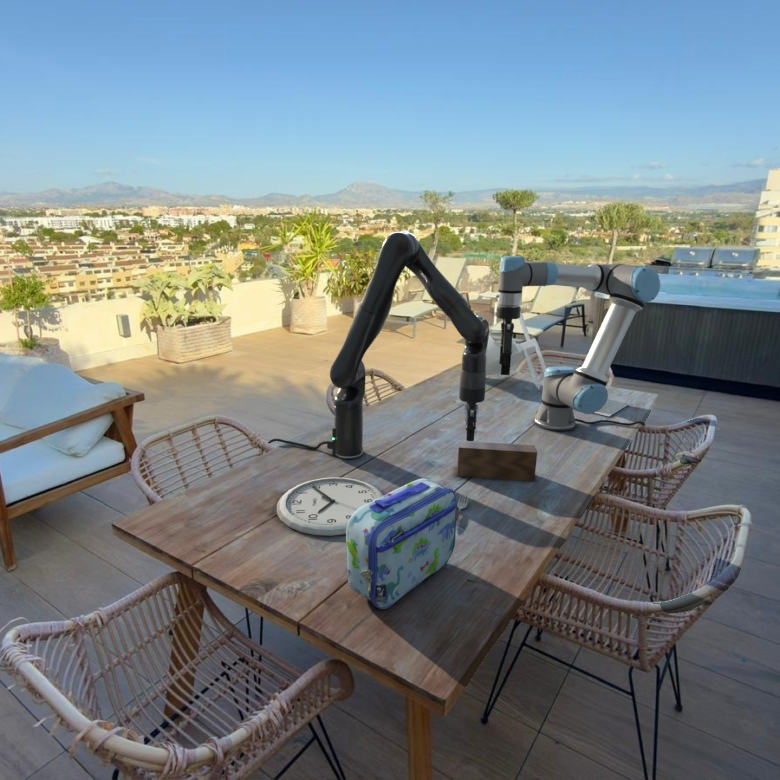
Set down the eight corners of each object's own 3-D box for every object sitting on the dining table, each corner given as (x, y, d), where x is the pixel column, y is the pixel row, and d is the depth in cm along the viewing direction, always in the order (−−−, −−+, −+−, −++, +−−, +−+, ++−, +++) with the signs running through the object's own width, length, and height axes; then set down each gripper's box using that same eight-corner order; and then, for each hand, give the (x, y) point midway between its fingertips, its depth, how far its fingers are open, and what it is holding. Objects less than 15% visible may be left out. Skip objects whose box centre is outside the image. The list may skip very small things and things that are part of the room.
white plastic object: (486, 418, 266) (465, 396, 241) (467, 346, 288) (447, 318, 263) (557, 395, 254) (543, 368, 229) (531, 321, 276) (517, 290, 251)
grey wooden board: (608, 416, 214) (573, 407, 224) (608, 416, 214) (573, 408, 224) (628, 404, 229) (594, 396, 238) (628, 405, 229) (594, 397, 238)
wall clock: (392, 527, 129) (268, 531, 127) (391, 533, 130) (269, 537, 127) (383, 473, 158) (282, 475, 155) (383, 478, 158) (282, 480, 156)
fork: (445, 528, 132) (446, 521, 132) (459, 499, 147) (460, 493, 146) (455, 530, 132) (456, 523, 131) (468, 501, 146) (469, 494, 145)
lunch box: (375, 622, 100) (376, 527, 94) (339, 595, 108) (338, 505, 101) (459, 565, 118) (465, 481, 112) (424, 545, 125) (427, 465, 119)
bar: (531, 473, 164) (534, 445, 161) (534, 481, 158) (537, 452, 156) (457, 468, 166) (458, 440, 163) (457, 476, 161) (458, 447, 158)
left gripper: (459, 377, 162) (457, 426, 167) (460, 390, 148) (457, 443, 153) (484, 378, 161) (481, 427, 166) (486, 392, 147) (483, 445, 152)
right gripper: (496, 300, 180) (492, 359, 187) (498, 311, 157) (493, 379, 163) (518, 300, 179) (513, 360, 186) (523, 312, 156) (518, 380, 162)
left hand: (469, 435), depth 159 cm, fingers open, 8 cm apart
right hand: (504, 369), depth 175 cm, fingers open, 13 cm apart
